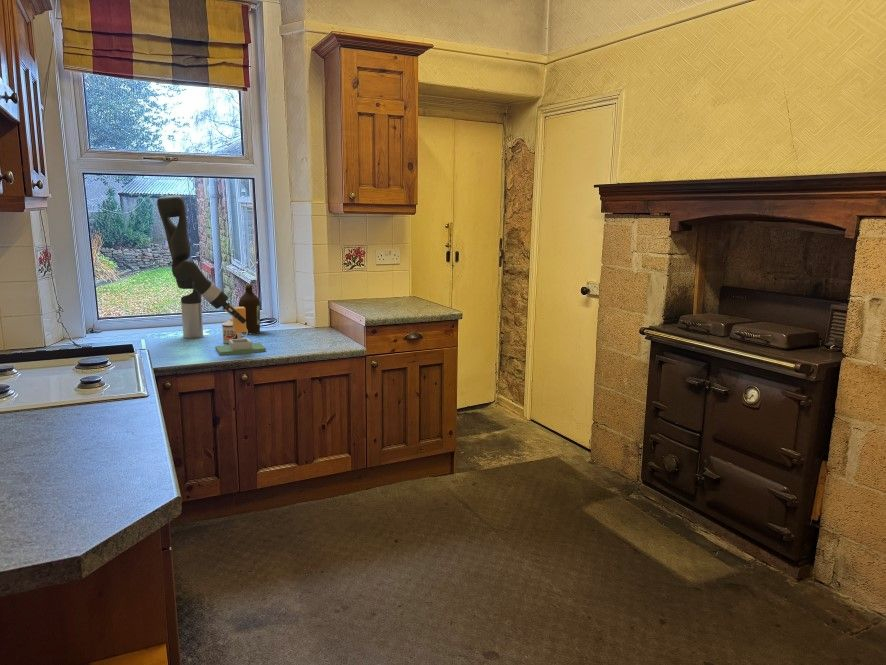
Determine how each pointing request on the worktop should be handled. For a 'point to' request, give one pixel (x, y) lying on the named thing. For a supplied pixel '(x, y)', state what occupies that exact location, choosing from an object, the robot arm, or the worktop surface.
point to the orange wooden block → (237, 325)
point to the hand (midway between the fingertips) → (243, 320)
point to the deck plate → (240, 347)
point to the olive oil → (251, 310)
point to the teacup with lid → (230, 332)
